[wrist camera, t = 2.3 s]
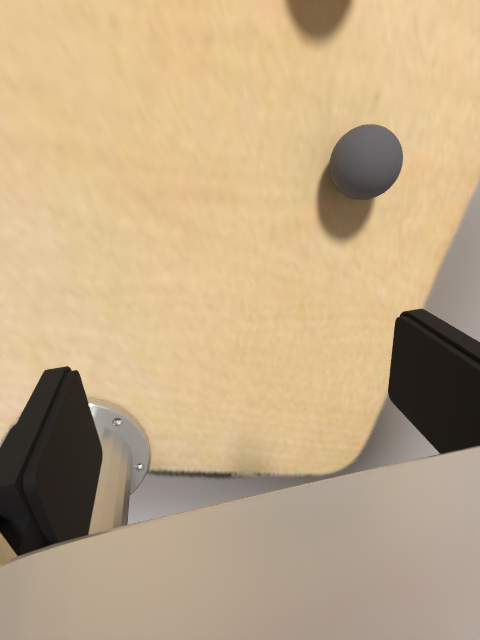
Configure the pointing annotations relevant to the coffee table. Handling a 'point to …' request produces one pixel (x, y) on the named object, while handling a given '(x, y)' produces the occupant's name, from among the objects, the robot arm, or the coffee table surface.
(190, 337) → the coffee table surface
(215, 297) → the coffee table surface
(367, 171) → the grey ball
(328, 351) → the coffee table surface
